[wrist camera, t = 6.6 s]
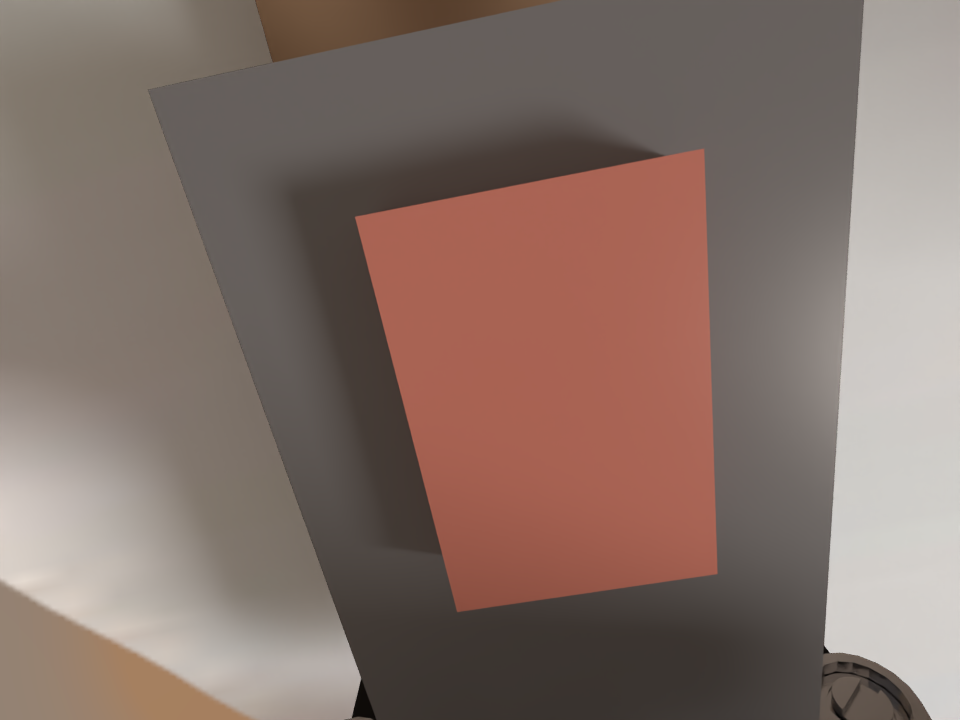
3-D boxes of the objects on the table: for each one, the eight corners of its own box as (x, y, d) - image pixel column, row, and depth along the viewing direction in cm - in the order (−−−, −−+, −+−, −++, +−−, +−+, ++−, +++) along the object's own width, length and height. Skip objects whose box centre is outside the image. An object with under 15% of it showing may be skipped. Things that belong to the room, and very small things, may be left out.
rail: (623, -196, 10) (665, -311, 8) (686, 751, 20) (713, 826, 18) (262, -109, 11) (200, -193, 8) (494, 774, 21) (496, 850, 18)
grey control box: (609, 103, 9) (963, -130, 2) (668, 775, 14) (814, 1224, 8) (360, 155, 9) (74, 66, 3) (517, 793, 15) (546, 1242, 8)
